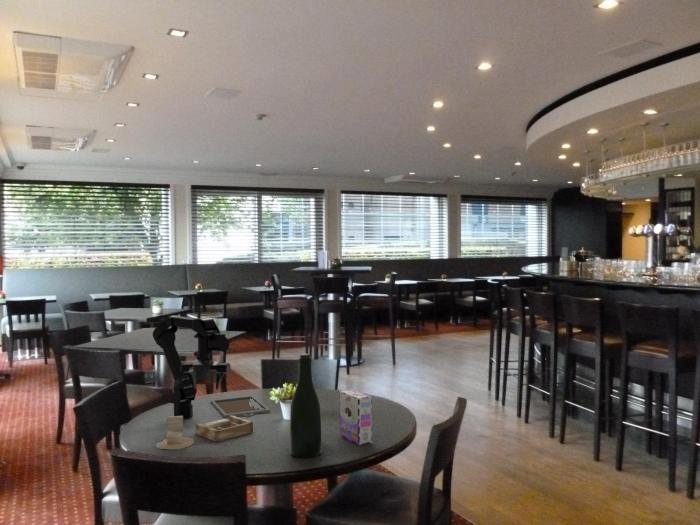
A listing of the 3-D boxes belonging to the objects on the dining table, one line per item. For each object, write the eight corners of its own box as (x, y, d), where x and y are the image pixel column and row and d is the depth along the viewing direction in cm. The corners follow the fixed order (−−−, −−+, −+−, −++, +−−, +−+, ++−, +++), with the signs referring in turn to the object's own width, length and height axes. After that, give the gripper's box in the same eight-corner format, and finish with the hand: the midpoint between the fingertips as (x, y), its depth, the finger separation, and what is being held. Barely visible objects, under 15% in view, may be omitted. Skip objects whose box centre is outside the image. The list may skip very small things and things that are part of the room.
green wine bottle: (293, 460, 184) (292, 357, 184) (287, 449, 194) (286, 352, 194) (325, 456, 187) (324, 355, 187) (317, 446, 197) (317, 350, 197)
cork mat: (148, 449, 195) (148, 448, 195) (165, 437, 208) (165, 436, 208) (185, 450, 194) (185, 449, 194) (199, 438, 207) (199, 437, 207)
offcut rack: (195, 433, 213) (195, 423, 213) (231, 424, 224) (231, 415, 224) (216, 441, 203) (216, 431, 203) (252, 431, 214) (252, 422, 214)
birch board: (168, 442, 202) (167, 416, 202) (182, 441, 203) (182, 415, 203) (167, 444, 199) (167, 418, 199) (182, 443, 200) (182, 418, 200)
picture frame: (252, 395, 266) (272, 410, 239) (252, 398, 266) (272, 414, 239) (210, 400, 258) (226, 416, 230) (210, 403, 258) (226, 420, 230)
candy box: (372, 443, 200) (372, 396, 200) (358, 446, 197) (358, 398, 197) (353, 432, 212) (352, 388, 212) (339, 435, 209) (338, 390, 209)
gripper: (174, 352, 220) (174, 393, 220) (221, 353, 218) (222, 394, 218) (185, 348, 231) (186, 386, 231) (230, 348, 229) (231, 387, 229)
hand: (205, 389), depth 227 cm, fingers open, 9 cm apart
